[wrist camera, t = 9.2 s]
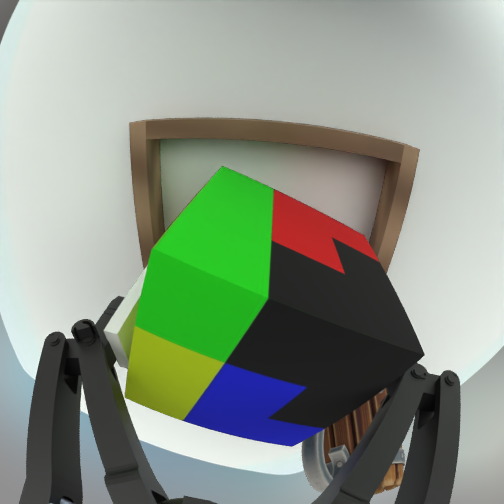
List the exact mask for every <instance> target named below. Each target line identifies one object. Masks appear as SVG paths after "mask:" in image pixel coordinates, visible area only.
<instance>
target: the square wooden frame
mask: <svg viewBox="0 0 504 504" xmlns="http://www.w3.org/2000/svg"><path fill="white" fill-rule="evenodd" d="M173 138H208V139H236V140H253V141H266V142H277V143H287V144H296V145H305V146H312V147H320V148H326V149H333V150H339V151H345V152H351V153H356V154H361V155H367V156H372V157H376V158H381V159H386V160H388V162H387V168H386V173H385V178H384V183H383V188H382V192H381V197H380V201H379V206H378V210H377V214H376V218H375V222H374V226H373V230H372V234H371V237H370V241H369V244H370V246H371V248H372V249H373V251H374V253H375V255H376V256H377V258H378V260H379V262H380V264H381V265H382V267H383V269H384V271H385V273H387V271H388V268H389V265H390V262H391V259H392V256H393V253H394V250H395V247H396V244H397V241H398V238H399V234H400V231H401V228H402V224H403V221H404V217H405V214H406V210H407V206H408V202H409V198H410V194H411V190H412V186H413V181H414V177H415V172H416V167H417V162H418V157H419V151H420V149H417V148H415V147H412V146H410V145H407V144H404V143H400V142H396V141H392V140H388V139H384V138H380V137H375V136H371V135H366V134H362V133H357V132H352V131H346V130H341V129H335V128H329V127H323V126H316V125H309V124H301V123H292V122H283V121H272V120H259V119H242V118H169V119H152V120H142V121H136V122H131V123H130V153H131V170H132V183H133V194H134V204H135V213H136V221H137V229H138V236H139V243H140V249H141V255H142V261H143V267H144V269H145V268H146V266H147V265H148V262H149V258H150V254H151V250H152V248H153V246H154V245H155V244H156V243H157V241H158V240H159V239H160V238H161V236H162V235H163V234H164V233H165V231H164V220H163V207H162V192H161V173H160V139H173Z"/></svg>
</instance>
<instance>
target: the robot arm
mask: <svg viewBox="0 0 504 504" xmlns="http://www.w3.org/2000/svg"><path fill="white" fill-rule="evenodd" d="M147 266H148V265H147ZM147 266H146V268H145V269H144V271H143V272H142V273H141V275H140V276H139V278H138V279H137V281H136V282H135V283H134V285H133V286H132V288H131V289H130V291H129V292H128V294H127V295H126V297H120V296H118V297H117V298H115V299H114V300H112V301H111V303H110V304H109V305H108V307H107V309H106V310H105V311H104V314H102V316H101V317H100V319H99V320H98V322H97V323H96V325H95V324H94V322H93V321H91V320H88V319H83V320H80V321H78V322H76V323H75V324H74V325H73V327H72V330H71V332H72V334H73V336H74V338H75V339H66V338H65V336H64V334H63V333H61V332H53V333H51V334H49V335H48V336H47V337H46V339H45V342H44V345H43V349H42V353H41V357H40V361H39V366H38V370H37V375H36V380H35V385H34V390H33V396H32V403H31V409H30V417H29V427H28V438H27V458H26V459H27V460H26V481H25V484H24V487H23V491H22V494H21V498H20V502H19V504H82V500H83V499H82V498H83V495H82V494H83V493H82V480H81V468H80V441H79V427H80V426H79V425H80V400H81V386H82V384H83V389H84V395H85V400H86V405H87V409H88V414H89V418H90V422H91V425H92V430H93V433H94V437H95V440H96V444H97V447H98V450H99V454H100V457H101V460H102V463H103V465H104V468H105V472H106V475H105V477H104V478H105V484H106V487H107V489H108V492H109V494H110V496H111V499H112V501H113V504H217V503H214V502H211V501H208V500H203V499H198V498H192V497H188V496H184V498H176V499H170V500H169V499H168V497H167V495H166V493H165V491H164V490H163V488H162V486H161V485H160V484H159V482H158V481H157V479H156V477H155V475H154V473H153V471H152V469H151V467H150V465H149V463H148V461H147V458H146V456H145V454H144V451H143V449H142V446H141V444H140V442H139V439H138V437H137V434H136V432H135V429H134V426H133V424H132V421H131V418H130V415H129V412H128V409H127V406H126V403H125V400H124V397H123V394H122V391H121V387H120V384H119V381H118V377H117V373H116V370H115V367H114V364H115V362H116V360H117V362H118V364H119V366H120V367H124V368H127V369H128V365H129V358H130V351H131V345H132V339H133V333H134V327H135V322H136V316H137V311H138V306H139V301H140V297H141V292H142V287H143V283H144V279H145V274H146V270H147ZM384 390H385V389H384ZM384 390H382V391H381V392H380V393H382V392H383V391H384ZM387 390H388V394H387V395H386V396H385V398H384V399H383V400H382V401H381V402H380V404H381V406H380V408H379V410H378V411H377V413H376V415H375V417H374V419H373V420H372V422H371V424H370V425H369V427H368V429H367V430H366V432H365V434H364V435H363V437H362V439H361V440H360V442H359V443H358V445H357V446H356V448H355V449H354V451H353V452H352V454H351V455H350V457H349V458H348V460H347V461H346V463H345V464H344V465H343V467H342V468H341V470H340V471H339V472H338V474H337V475H336V476H335V478H334V479H333V480H332V482H331V483H330V484H329V485H328V487H327V488H326V489H325V490H324V492H323V493H322V494H321V495H320V496H319V497H318V498H317V499H316V500H315V501H314V502H313V503H312V504H370V503H369V502H370V500H371V498H372V496H373V495H374V493H375V492H376V490H377V489H378V487H379V485H380V484H381V482H382V480H383V479H384V477H385V475H386V473H387V472H388V470H389V468H390V466H391V464H392V463H393V461H394V459H395V457H396V455H397V453H398V451H399V449H400V447H401V445H402V443H403V441H404V439H405V436H406V434H407V432H408V430H409V427H410V425H411V423H412V421H413V418H414V416H415V419H414V426H413V432H412V438H411V443H410V448H409V453H408V457H407V462H406V466H405V470H404V474H403V478H402V481H401V485H400V489H399V492H398V495H397V498H396V501H395V504H449V503H450V498H451V494H452V489H453V484H454V478H455V472H456V464H457V457H458V447H459V435H460V381H459V378H458V376H457V375H456V374H455V373H454V372H452V371H450V370H446V371H444V372H443V373H442V374H441V375H440V376H438V375H434V374H429V373H428V372H427V370H426V369H425V367H423V366H422V365H420V364H418V363H417V362H416V363H415V364H414V365H413V366H412V367H411V368H409V369H408V370H407V371H406V372H405V373H404V374H402V375H401V376H400V377H399V378H398V379H396V380H395V381H394V382H393V383H391V384H390V385H389V386H387Z"/></svg>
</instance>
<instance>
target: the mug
mask: <svg viewBox="0 0 504 504" xmlns="http://www.w3.org/2000/svg"><path fill="white" fill-rule="evenodd" d="M387 394H388V390H387V387H386V388H385V390H384V391H383V392H382V393H378V394H377V395H376V396H374V397H373V398H371V399H370V400H369V401H367V402H366V403H364V404H363V405H362V406H360V407H359V408H357V409H356V410H354V411H353V412H351V413H350V414H348V415H347V416H345V417H343V418H342V419H340V420H339V421H337V422H335V423H334V424H332V425H330V426H329V427H327V428H325V429H324V430H322V431H320V432H318V433H317V434H315V435H313V436H311V437H309V438H308V439H306V440H304V441H302V462H303V467H304V471H305V474H306V477H307V479H308V481H309V483H310V485H311V486H312V487H313V488H314V489H315V490H316V491H318V492H322V493H323V492H324V490H325V489H326V488H327V487H328V485H329V484H330V483H331V482H332V480H333V479H334V478H335V476H336V475H337V474H338V472H339V471H340V470H341V468H342V467H343V465H344V464H345V463H346V461H347V460H348V458H349V457H350V455H351V454H352V452H353V451H354V449H355V448H356V446H357V445H358V443H359V442H360V440H361V439H362V437H363V435H364V434H365V432H366V430H367V429H368V427H369V425H370V424H371V422H372V420H373V419H374V417H375V415H376V413H377V411H378V410H379V408H380V406H381V404H380V402H381V401H382V400H383V399H384V398H385V396H386V395H387ZM404 465H405V457H404V450H403V449H402V445H401V447H400V449H399V451H398V453H397V455H396V457H395V459H394V461H393V463H392V464H391V466H390V468H389V470H388V472H387V473H386V475H385V477H384V479H383V480H382V482H381V484H380V485H379V487H378V489H377V490H376V492H375V493H374V494H377V493H381V492H383V491H384V489H385V490H391V489H394V488H396V487H398V486H400V485H401V481H402V478H403V474H404V472H403V466H404Z"/></svg>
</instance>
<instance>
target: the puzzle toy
mask: <svg viewBox="0 0 504 504" xmlns="http://www.w3.org/2000/svg"><path fill="white" fill-rule="evenodd" d="M424 355H425V354H424V352H423V350H422V347H421V345H420V343H419V340H418V338H417V336H416V333H415V331H414V329H413V327H412V325H411V322H410V320H409V318H408V316H407V314H406V312H405V310H404V308H403V306H402V304H401V302H400V300H399V298H398V296H397V294H396V292H395V290H394V288H393V286H392V284H391V282H390V280H389V278H388V276H387V275H386V273H385V271H384V269H383V267H382V265H381V264H380V262H379V260H378V258H377V256H376V255H375V253H374V251H373V249H372V248H371V246H370V244H369V243H368V241H367V239H366V238H365V236H364V235H362V234H361V233H359V232H357V231H355V230H353V229H351V228H350V227H348V226H346V225H344V224H342V223H340V222H339V221H337V220H335V219H333V218H331V217H329V216H327V215H325V214H323V213H321V212H319V211H317V210H315V209H314V208H312V207H310V206H308V205H306V204H304V203H302V202H300V201H298V200H296V199H293V198H291V197H289V196H287V195H285V194H283V193H281V192H279V191H277V190H275V189H273V188H271V187H268V186H266V185H264V184H262V183H260V182H258V181H255V180H253V179H251V178H249V177H247V176H244V175H242V174H240V173H238V172H235V171H233V170H231V169H228V168H226V167H224V166H222V167H221V168H220V169H219V170H218V171H217V172H216V173H215V175H214V176H213V177H212V178H211V179H210V180H209V181H208V182H207V183H206V184H205V186H204V187H203V188H202V189H201V190H200V191H199V192H198V194H197V195H196V196H195V197H194V198H193V199H192V200H191V202H190V203H189V204H188V205H187V206H186V207H185V209H184V210H183V211H182V212H181V213H180V214H179V216H178V217H177V218H176V219H175V220H174V222H173V223H172V224H171V225H170V226H169V228H168V229H167V230H166V231H165V233H164V234H163V235H162V236H161V238H160V239H159V240H158V241H157V243H156V244H155V245H154V246H153V248H152V250H151V254H150V258H149V262H148V266H147V270H146V274H145V279H144V283H143V287H142V292H141V297H140V301H139V306H138V311H137V316H136V322H135V327H134V333H133V339H132V345H131V351H130V358H129V365H128V372H127V380H126V389H125V398H127V399H129V400H131V401H134V402H136V403H138V404H140V405H143V406H145V407H148V408H150V409H153V410H155V411H158V412H160V413H163V414H165V415H168V416H171V417H174V418H176V419H179V420H182V421H185V422H188V423H191V424H194V425H197V426H201V427H204V428H207V429H211V430H214V431H218V432H222V433H226V434H230V435H234V436H238V437H242V438H247V439H251V440H256V441H261V442H267V443H272V444H278V445H285V446H291V447H292V446H294V445H296V444H298V443H300V442H302V441H304V440H306V439H308V438H309V437H311V436H313V435H315V434H317V433H318V432H320V431H322V430H324V429H325V428H327V427H329V426H330V425H332V424H334V423H335V422H337V421H339V420H340V419H342V418H343V417H345V416H347V415H348V414H350V413H351V412H353V411H354V410H356V409H357V408H359V407H360V406H362V405H363V404H364V403H366V402H367V401H369V400H370V399H371V398H373V397H374V396H376V395H377V394H378V393H380V392H381V391H382V390H384V389H385V388H386V387H387V386H389V385H390V384H391V383H393V382H394V381H395V380H396V379H398V378H399V377H400V376H401V375H402V374H404V373H405V372H406V371H407V370H408V369H409V368H411V367H412V366H413V365H414V364H415V363H416V362H417V361H419V360H420V359H421V358H422V357H423V356H424Z"/></svg>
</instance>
